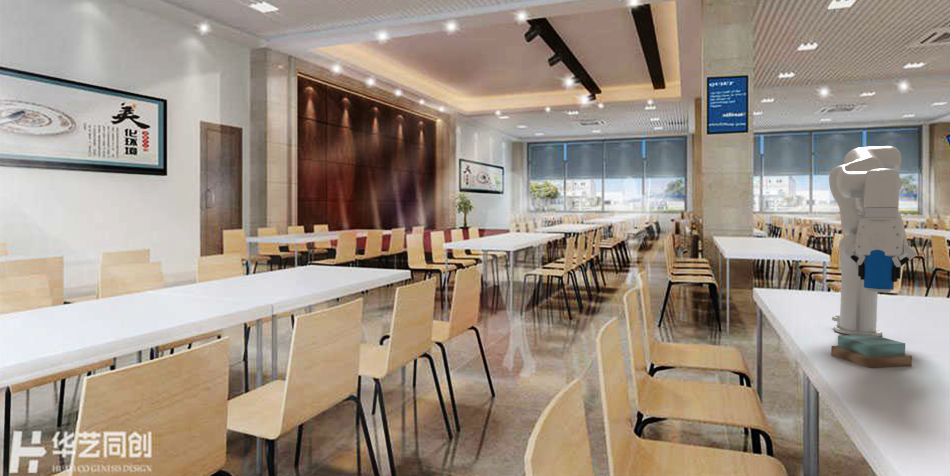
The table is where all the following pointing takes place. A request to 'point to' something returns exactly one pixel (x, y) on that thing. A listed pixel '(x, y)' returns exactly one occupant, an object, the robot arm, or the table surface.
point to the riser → (871, 351)
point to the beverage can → (878, 272)
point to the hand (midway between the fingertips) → (878, 279)
